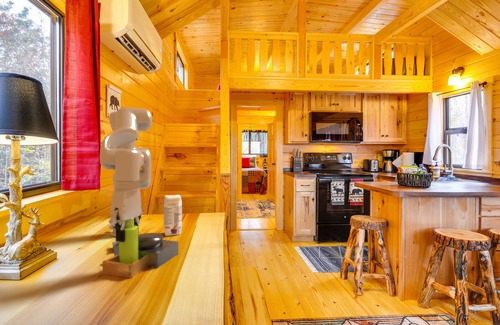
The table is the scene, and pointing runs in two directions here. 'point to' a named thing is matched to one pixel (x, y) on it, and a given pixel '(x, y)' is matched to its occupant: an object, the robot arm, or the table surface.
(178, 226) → the juice carton
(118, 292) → the table surface
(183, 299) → the table surface
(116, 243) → the egg carton
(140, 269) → the grey block with dome
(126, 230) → the soap dispenser
